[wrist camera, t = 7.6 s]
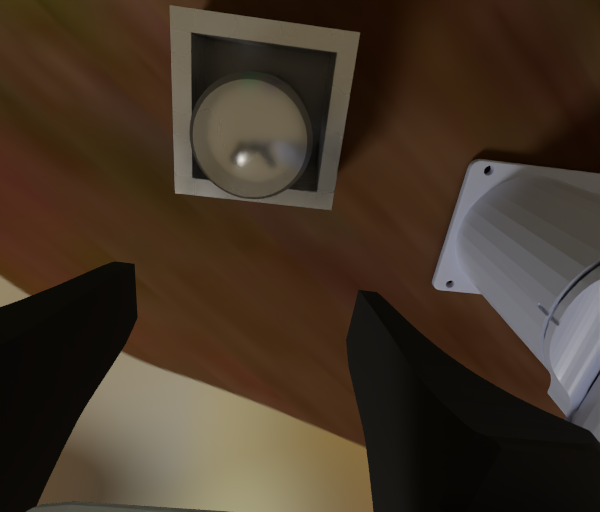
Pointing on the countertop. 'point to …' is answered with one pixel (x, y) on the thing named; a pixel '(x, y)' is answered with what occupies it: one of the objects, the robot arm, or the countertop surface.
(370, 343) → the robot arm
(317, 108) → the mount socket
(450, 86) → the countertop surface
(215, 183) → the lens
